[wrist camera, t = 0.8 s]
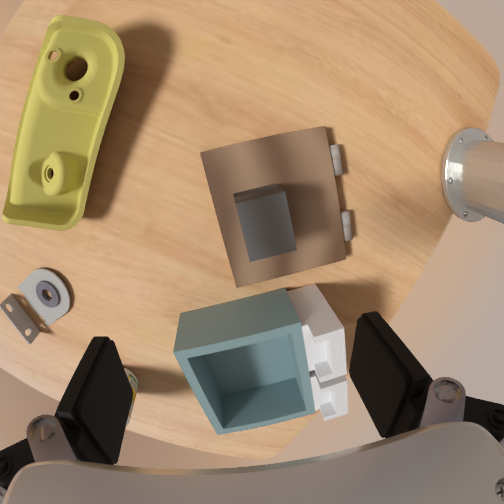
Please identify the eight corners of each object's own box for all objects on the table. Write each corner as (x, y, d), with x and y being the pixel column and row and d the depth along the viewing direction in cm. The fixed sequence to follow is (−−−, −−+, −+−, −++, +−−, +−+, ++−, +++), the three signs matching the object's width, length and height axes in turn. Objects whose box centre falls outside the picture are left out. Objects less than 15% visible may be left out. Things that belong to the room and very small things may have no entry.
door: (236, 282, 32) (239, 312, 26) (201, 152, 27) (195, 154, 22) (351, 252, 32) (376, 275, 27) (331, 125, 27) (358, 121, 22)
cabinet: (216, 395, 38) (218, 447, 29) (180, 313, 33) (171, 366, 24) (326, 368, 38) (347, 415, 30) (314, 279, 33) (343, 323, 25)
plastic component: (80, 233, 26) (-8, 221, 20) (81, 205, 32) (8, 194, 26) (143, 33, 19) (42, 11, 13) (133, 43, 25) (53, 26, 19)
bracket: (82, 300, 31) (70, 314, 28) (40, 331, 32) (29, 345, 29) (49, 256, 29) (35, 267, 26) (11, 293, 30) (-2, 305, 27)
